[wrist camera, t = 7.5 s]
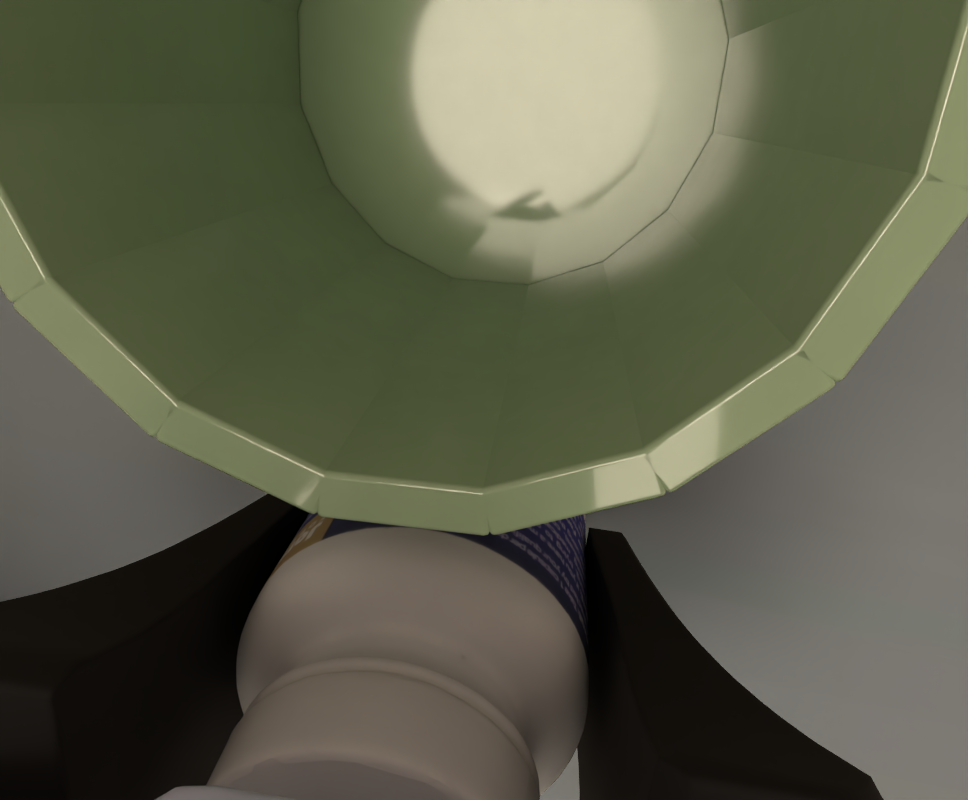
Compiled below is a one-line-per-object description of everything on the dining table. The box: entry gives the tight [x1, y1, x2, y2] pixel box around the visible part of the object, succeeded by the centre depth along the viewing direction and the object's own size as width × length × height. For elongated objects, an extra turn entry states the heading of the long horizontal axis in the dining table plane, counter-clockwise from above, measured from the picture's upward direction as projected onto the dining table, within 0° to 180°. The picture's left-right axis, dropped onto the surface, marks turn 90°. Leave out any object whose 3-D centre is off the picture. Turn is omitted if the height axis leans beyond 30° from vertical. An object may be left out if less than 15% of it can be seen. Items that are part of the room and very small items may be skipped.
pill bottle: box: [207, 513, 589, 800], centre depth 12 cm, size 5×5×9 cm
